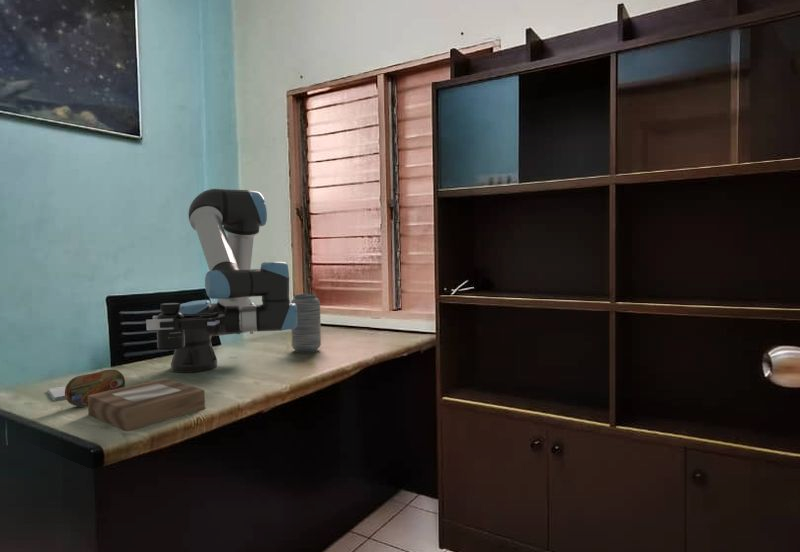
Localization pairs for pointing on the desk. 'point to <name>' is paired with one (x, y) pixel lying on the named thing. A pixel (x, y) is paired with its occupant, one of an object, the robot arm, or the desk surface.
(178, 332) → the supplement bottle
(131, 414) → the plinth
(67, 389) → the tin
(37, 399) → the desk surface
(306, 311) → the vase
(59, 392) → the hard drive
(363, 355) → the desk surface
